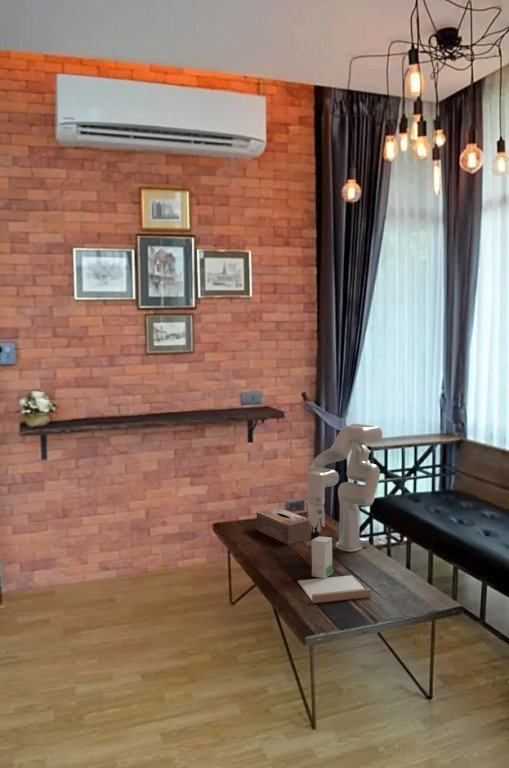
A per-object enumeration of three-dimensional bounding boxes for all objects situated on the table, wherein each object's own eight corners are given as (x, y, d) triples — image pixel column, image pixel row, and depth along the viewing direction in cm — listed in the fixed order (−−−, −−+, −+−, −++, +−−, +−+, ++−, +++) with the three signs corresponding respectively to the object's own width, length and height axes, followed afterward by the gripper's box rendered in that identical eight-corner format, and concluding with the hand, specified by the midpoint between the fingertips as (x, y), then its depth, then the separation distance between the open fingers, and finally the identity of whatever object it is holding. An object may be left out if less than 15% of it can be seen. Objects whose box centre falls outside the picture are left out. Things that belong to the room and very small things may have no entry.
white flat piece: (351, 576, 255) (351, 569, 255) (371, 596, 236) (371, 589, 236) (297, 582, 249) (297, 575, 249) (313, 603, 231) (313, 595, 230)
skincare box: (324, 579, 251) (324, 542, 250) (310, 576, 254) (310, 540, 254) (333, 573, 258) (332, 537, 257) (319, 570, 261) (318, 535, 261)
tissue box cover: (310, 539, 300) (311, 519, 299) (288, 545, 291) (289, 525, 290) (277, 525, 321) (278, 506, 320) (256, 530, 312) (256, 511, 311)
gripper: (330, 504, 255) (329, 546, 257) (318, 494, 270) (317, 534, 272) (313, 505, 254) (312, 547, 255) (302, 495, 268) (301, 535, 270)
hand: (314, 540), depth 263 cm, fingers closed
